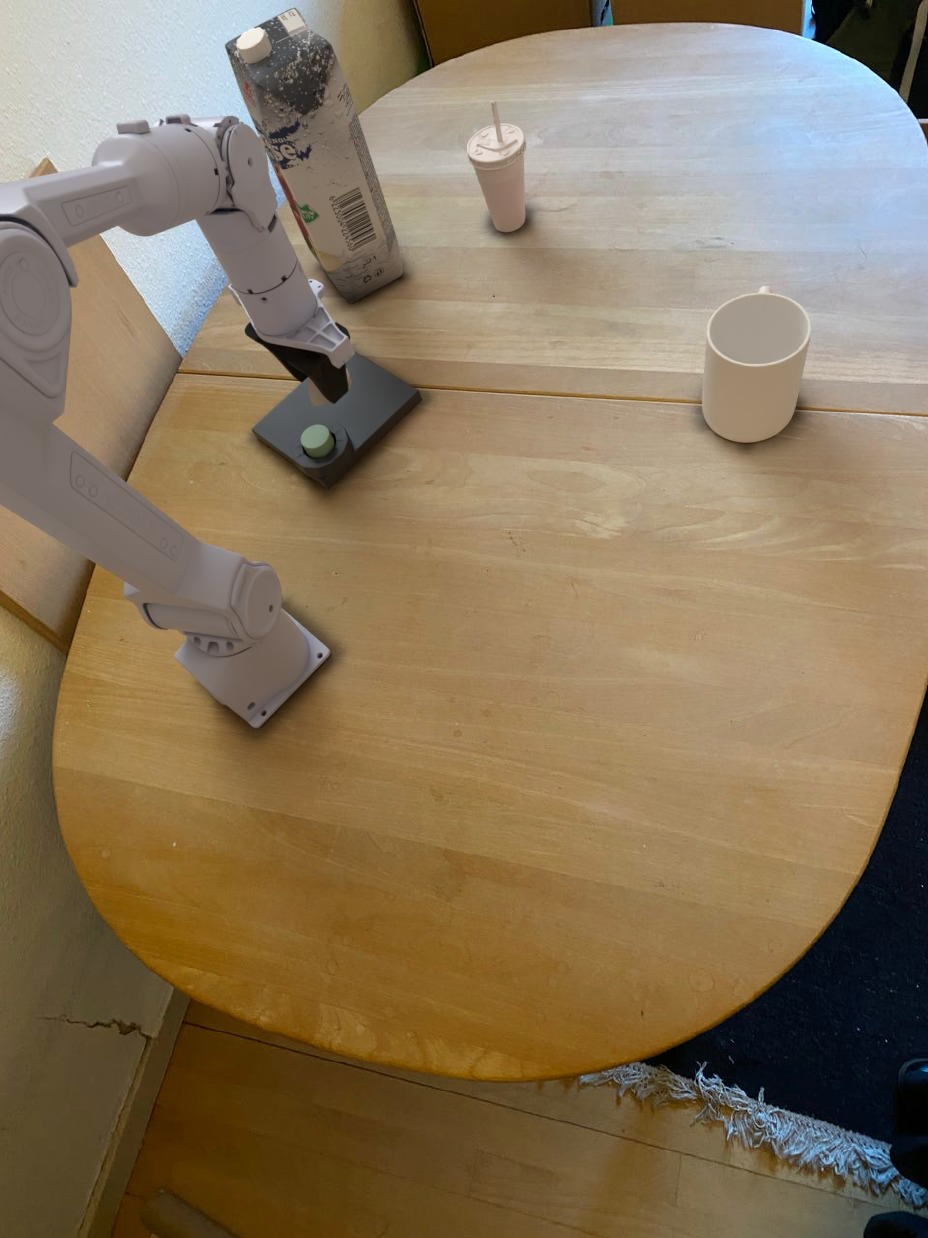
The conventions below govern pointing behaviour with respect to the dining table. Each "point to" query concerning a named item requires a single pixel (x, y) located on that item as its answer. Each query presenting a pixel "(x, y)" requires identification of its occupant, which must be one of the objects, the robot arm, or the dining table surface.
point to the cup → (754, 365)
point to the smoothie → (500, 171)
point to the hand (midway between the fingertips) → (323, 385)
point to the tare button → (317, 441)
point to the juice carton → (317, 150)
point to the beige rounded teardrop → (316, 394)
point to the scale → (339, 420)
